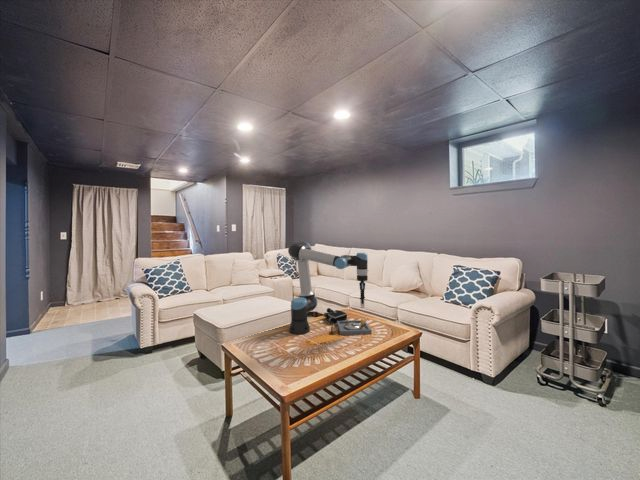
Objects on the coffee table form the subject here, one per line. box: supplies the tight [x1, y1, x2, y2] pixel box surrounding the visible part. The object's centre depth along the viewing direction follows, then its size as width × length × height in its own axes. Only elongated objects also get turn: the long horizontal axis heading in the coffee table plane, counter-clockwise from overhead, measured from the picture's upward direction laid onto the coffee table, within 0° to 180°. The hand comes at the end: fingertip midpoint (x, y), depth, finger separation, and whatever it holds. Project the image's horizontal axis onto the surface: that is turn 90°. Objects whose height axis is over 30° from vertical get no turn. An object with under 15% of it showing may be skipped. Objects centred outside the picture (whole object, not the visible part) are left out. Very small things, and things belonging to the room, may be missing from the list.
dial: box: [345, 318, 365, 330], centre depth 217 cm, size 14×13×6 cm
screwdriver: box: [331, 323, 338, 335], centre depth 214 cm, size 3×16×3 cm, turn 4°
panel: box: [336, 319, 372, 336], centre depth 217 cm, size 22×22×3 cm
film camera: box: [322, 307, 348, 325], centre depth 237 cm, size 8×16×15 cm
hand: (362, 307), depth 207 cm, fingers closed
